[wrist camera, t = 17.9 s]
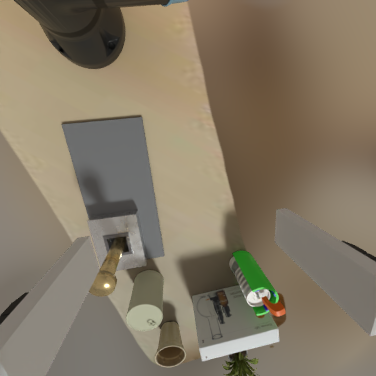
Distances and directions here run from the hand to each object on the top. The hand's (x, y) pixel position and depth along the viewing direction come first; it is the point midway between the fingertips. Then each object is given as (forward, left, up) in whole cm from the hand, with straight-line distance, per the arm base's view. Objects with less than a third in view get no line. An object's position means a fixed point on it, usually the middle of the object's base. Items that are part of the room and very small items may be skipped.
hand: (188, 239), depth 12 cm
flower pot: (+57, -8, -35) cm, 67 cm away
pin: (+19, -17, -34) cm, 43 cm away
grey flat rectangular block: (+19, -17, -34) cm, 43 cm away
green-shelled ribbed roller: (+34, +18, -35) cm, 52 cm away
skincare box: (+46, +11, -35) cm, 59 cm away
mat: (+8, -15, -35) cm, 39 cm away
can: (+36, -12, -35) cm, 52 cm away
